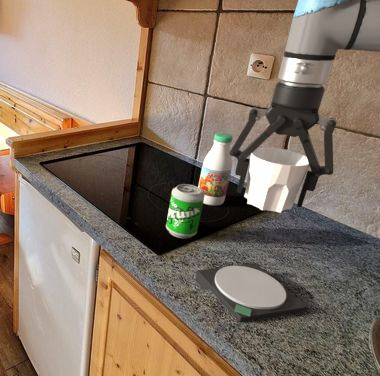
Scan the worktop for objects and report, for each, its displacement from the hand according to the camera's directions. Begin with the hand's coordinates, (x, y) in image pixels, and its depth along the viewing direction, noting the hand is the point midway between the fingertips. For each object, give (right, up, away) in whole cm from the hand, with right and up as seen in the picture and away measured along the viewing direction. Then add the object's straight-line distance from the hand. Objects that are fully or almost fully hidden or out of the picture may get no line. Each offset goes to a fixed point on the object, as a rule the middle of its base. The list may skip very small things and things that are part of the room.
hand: (268, 197), depth 80 cm
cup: (0, -1, +1) cm, 1 cm away
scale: (-5, -20, 0) cm, 20 cm away
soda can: (-10, -10, +22) cm, 26 cm away
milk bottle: (+4, -2, +39) cm, 39 cm away
